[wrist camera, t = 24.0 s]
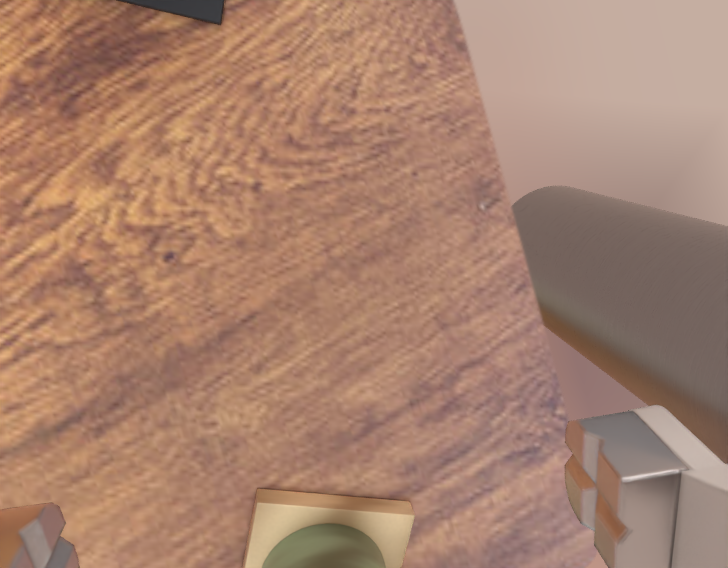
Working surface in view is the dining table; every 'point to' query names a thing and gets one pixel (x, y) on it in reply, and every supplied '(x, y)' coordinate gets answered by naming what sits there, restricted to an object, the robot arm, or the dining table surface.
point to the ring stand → (326, 531)
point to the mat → (187, 8)
